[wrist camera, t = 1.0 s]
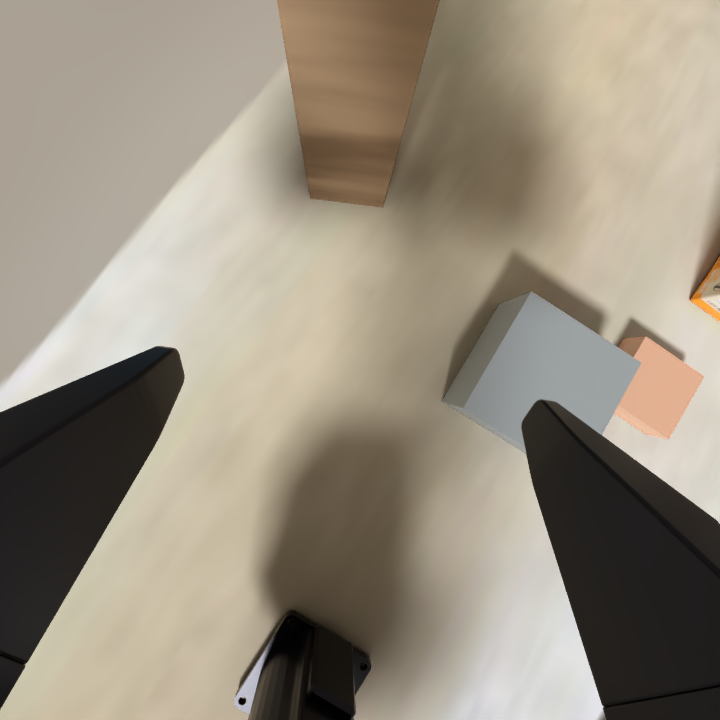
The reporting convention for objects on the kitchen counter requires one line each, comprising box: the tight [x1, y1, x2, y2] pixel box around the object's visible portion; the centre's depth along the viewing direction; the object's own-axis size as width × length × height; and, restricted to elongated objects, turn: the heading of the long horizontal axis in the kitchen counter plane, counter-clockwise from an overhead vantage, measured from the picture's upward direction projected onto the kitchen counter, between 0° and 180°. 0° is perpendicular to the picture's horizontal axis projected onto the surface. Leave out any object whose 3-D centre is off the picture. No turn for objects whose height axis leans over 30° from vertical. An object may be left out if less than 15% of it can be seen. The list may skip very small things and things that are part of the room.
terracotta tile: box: [614, 336, 704, 439], centre depth 22 cm, size 5×5×2 cm
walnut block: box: [277, 0, 439, 207], centre depth 15 cm, size 5×5×13 cm
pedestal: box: [442, 291, 641, 454], centre depth 20 cm, size 8×8×4 cm
